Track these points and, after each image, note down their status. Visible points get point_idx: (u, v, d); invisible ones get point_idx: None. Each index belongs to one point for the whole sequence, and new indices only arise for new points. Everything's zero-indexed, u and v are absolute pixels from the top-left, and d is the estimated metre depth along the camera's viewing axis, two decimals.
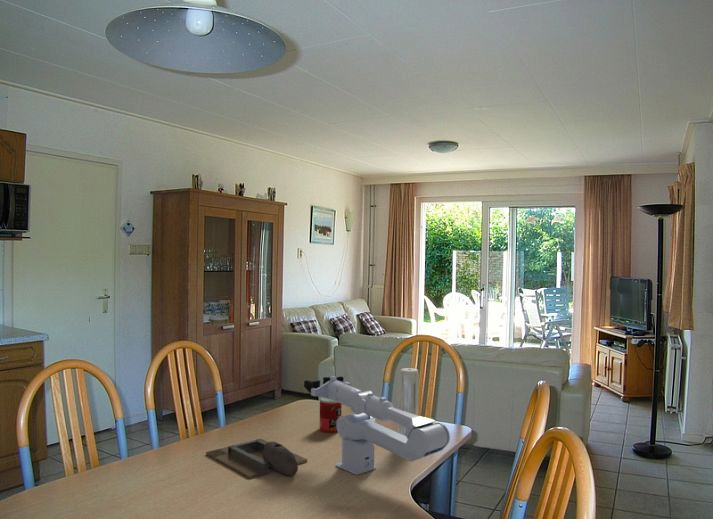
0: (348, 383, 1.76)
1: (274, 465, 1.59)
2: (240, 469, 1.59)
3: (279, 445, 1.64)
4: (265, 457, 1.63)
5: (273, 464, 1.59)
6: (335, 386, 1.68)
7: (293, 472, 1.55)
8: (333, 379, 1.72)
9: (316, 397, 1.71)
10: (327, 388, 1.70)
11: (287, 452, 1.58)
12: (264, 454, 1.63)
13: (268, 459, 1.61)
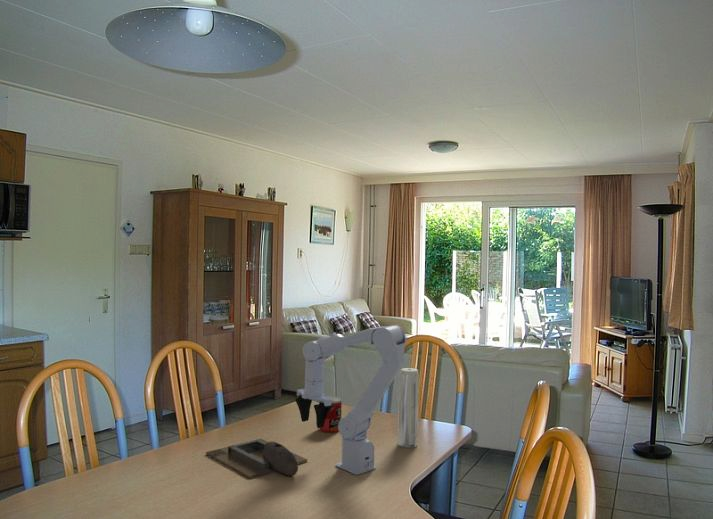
0: (298, 390, 1.75)
1: (274, 465, 1.59)
2: (240, 469, 1.59)
3: (279, 445, 1.64)
4: (265, 457, 1.63)
5: (273, 464, 1.59)
6: (312, 386, 1.68)
7: (293, 472, 1.55)
8: (305, 395, 1.69)
9: None
10: (317, 395, 1.69)
11: (287, 452, 1.58)
12: (264, 454, 1.63)
13: (268, 459, 1.61)
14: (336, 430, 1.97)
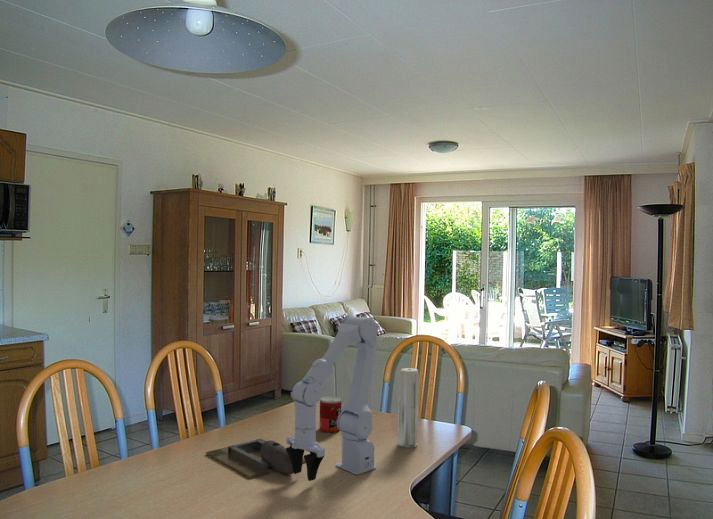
0: (288, 437, 1.57)
1: (272, 464, 1.60)
2: (240, 469, 1.59)
3: (277, 444, 1.64)
4: (263, 456, 1.63)
5: (271, 463, 1.60)
6: (303, 434, 1.50)
7: (291, 471, 1.55)
8: (296, 445, 1.50)
9: None
10: (308, 444, 1.50)
11: (285, 451, 1.59)
12: (262, 453, 1.64)
13: (266, 458, 1.62)
14: (336, 430, 1.97)
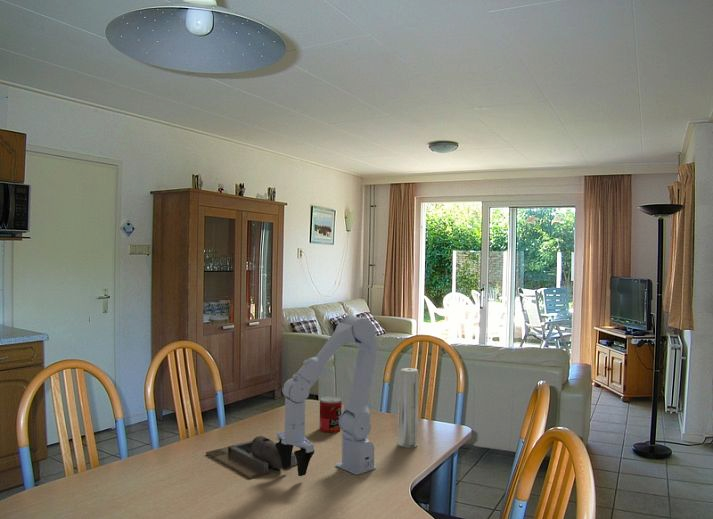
0: (278, 434, 1.60)
1: (262, 459, 1.64)
2: (240, 469, 1.59)
3: (267, 439, 1.68)
4: (253, 451, 1.67)
5: (261, 458, 1.64)
6: (292, 430, 1.53)
7: (280, 465, 1.59)
8: (285, 441, 1.54)
9: None
10: (298, 440, 1.54)
11: (275, 446, 1.62)
12: (252, 448, 1.68)
13: (256, 453, 1.66)
14: (336, 430, 1.97)
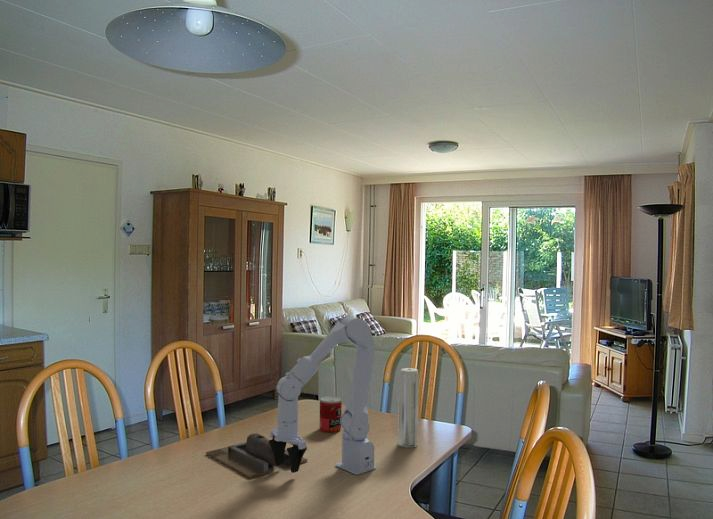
0: (271, 431, 1.62)
1: (256, 455, 1.66)
2: (240, 469, 1.59)
3: (262, 437, 1.71)
4: (248, 448, 1.70)
5: (255, 455, 1.66)
6: (285, 427, 1.56)
7: (274, 462, 1.62)
8: (278, 438, 1.56)
9: None
10: (290, 437, 1.56)
11: (268, 443, 1.65)
12: (247, 445, 1.70)
13: (250, 450, 1.68)
14: (336, 430, 1.97)
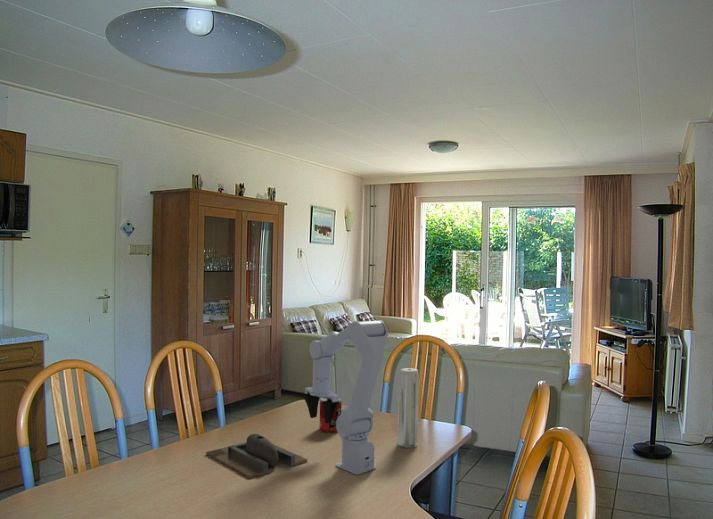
0: (306, 388, 1.83)
1: (256, 456, 1.66)
2: (240, 469, 1.59)
3: (262, 437, 1.71)
4: (248, 449, 1.70)
5: (255, 455, 1.66)
6: (320, 383, 1.76)
7: (274, 463, 1.62)
8: (313, 393, 1.77)
9: None
10: (324, 392, 1.77)
11: (268, 444, 1.65)
12: (247, 446, 1.70)
13: (250, 450, 1.68)
14: (336, 430, 1.97)
